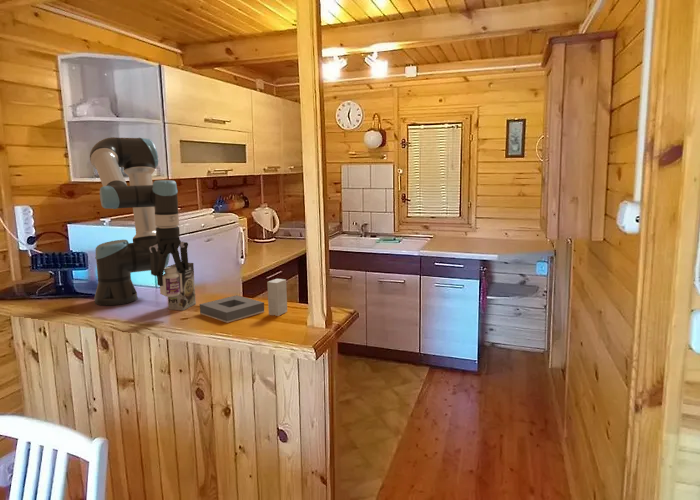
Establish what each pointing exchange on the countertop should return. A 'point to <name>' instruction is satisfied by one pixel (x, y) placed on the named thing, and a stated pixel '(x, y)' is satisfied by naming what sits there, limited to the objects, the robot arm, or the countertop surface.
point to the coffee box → (184, 291)
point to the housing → (231, 308)
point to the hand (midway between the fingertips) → (171, 292)
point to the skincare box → (277, 297)
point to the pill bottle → (171, 282)
